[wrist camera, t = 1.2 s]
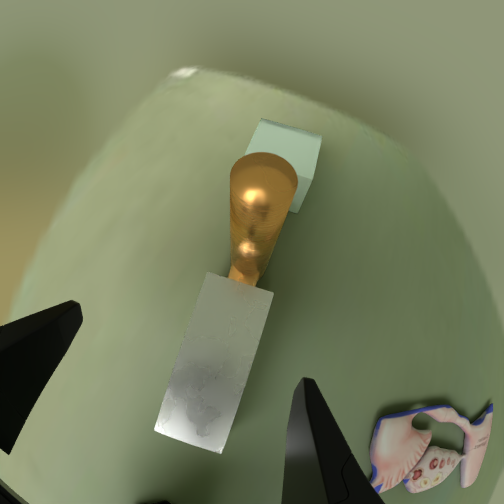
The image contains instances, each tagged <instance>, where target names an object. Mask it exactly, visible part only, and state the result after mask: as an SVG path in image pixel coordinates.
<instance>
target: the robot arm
mask: <svg viewBox="0 0 504 504" xmlns="http://www.w3.org/2000/svg"><path fill="white" fill-rule="evenodd" d="M82 322H83V316H82V311H81V306H80V304H79V303H78V302H76V301H73V300H70V301H67V302H64V303H61V304H59V305H56V306H53V307H50V308H48V309H45V310H42V311H40V312H37V313H34V314H32V315H29V316H26V317H24V318H21V319H18V320H16V321H13V322H10V323H8V324H5V325H4V326H3V325H2V326H0V449H2V450H3V451H4V452H5V453H7V454H8V455H9V454H10V452H11V450H12V448H13V446H14V444H15V442H16V440H17V438H18V436H19V434H20V432H21V430H22V428H23V426H24V424H25V422H26V420H27V418H28V416H29V414H30V412H31V410H32V408H33V407H34V405H35V403H36V401H37V399H38V398H39V396H40V394H41V392H42V391H43V389H44V387H45V386H46V384H47V382H48V381H49V379H50V377H51V376H52V374H53V373H54V371H55V369H56V368H57V366H58V365H59V363H60V361H61V360H62V358H63V357H64V355H65V354H66V352H67V350H68V349H69V347H70V345H71V343H72V341H73V339H74V337H75V335H76V333H77V332H78V330H79V328H80V326H81V324H82ZM0 504H29V503H28V502H26V501H25V500H24V499H23V498H22V497H20V496H19V495H18V494H17V493H16V492H14V491H13V490H12V489H11V488H10V487H9V486H8V485H7V484H5V483H4V482H3V481H2V480H1V479H0ZM153 504H171V503H169V502H168V501H165V500H164V501H160V502H157V503H153ZM281 504H385V503H384V502H383V500H382V499H381V497H380V496H379V495H378V493H377V492H376V490H375V489H374V488H373V486H372V485H371V483H370V482H369V481H368V479H367V478H366V476H365V474H364V473H363V471H362V470H361V468H360V466H359V464H358V463H357V461H356V459H355V457H354V455H353V453H352V451H351V449H350V448H349V446H348V444H347V442H346V440H345V438H344V436H343V434H342V432H341V430H340V428H339V426H338V425H337V423H336V421H335V419H334V417H333V415H332V413H331V411H330V409H329V407H328V405H327V403H326V401H325V399H324V398H323V396H322V394H321V392H320V390H319V388H318V386H317V384H316V382H315V380H314V379H312V378H306V377H303V378H302V379H301V381H300V382H299V384H298V385H297V387H296V389H295V391H294V394H293V400H292V406H291V411H290V417H289V422H288V428H287V439H286V454H285V468H284V480H283V491H282V502H281Z"/></svg>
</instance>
